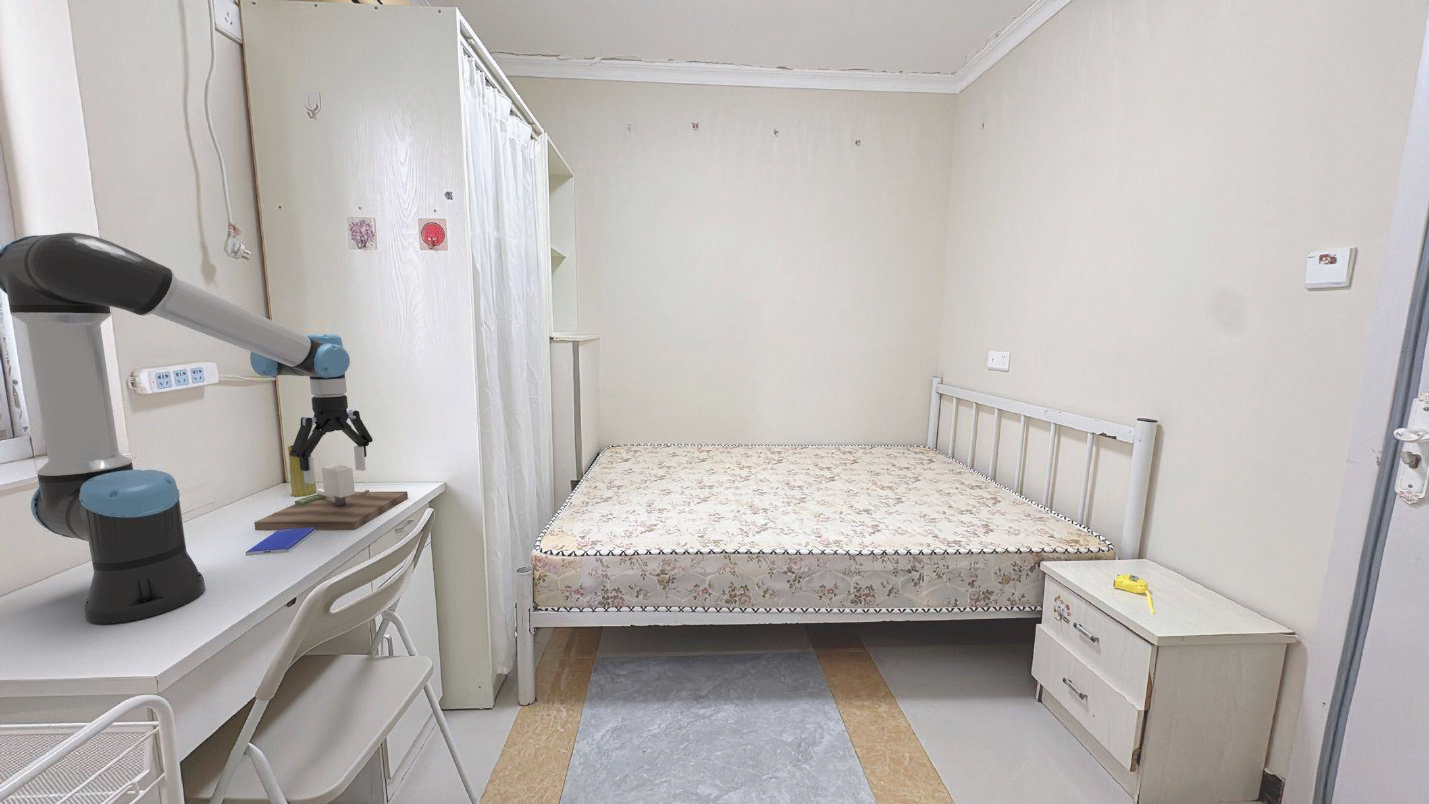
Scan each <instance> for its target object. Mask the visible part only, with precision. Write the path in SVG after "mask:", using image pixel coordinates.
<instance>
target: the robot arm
mask: <svg viewBox="0 0 1429 804" xmlns="http://www.w3.org/2000/svg"><path fill="white" fill-rule="evenodd" d="M0 290H1V291H3V292H4V294H6V295H7V296H6V297H7V301H8V307H9V312H10V315H11V316H12V317H14V318H16V320H19V321H21V322H23V323H24V324H25V325H26V329H27V330H26V331H27V336H28V344H29V347H30V348H29V349H30V354H31V361H32V367H33V372H34V379H35V385H36V391H37V396H38V404H39V411H40V415H41V416H40V417H41V421H42V428H43V434H44V439H45V446H46V451H47V458H48V461H47V462H46V463H45V464H44V465H43V466H41V468H39V469H38V470H37V474H36V475H37V481H38V487H37V489H36V490H35V491H34V493H33V496H32V497H31V501H30V510H31V514H32V516H33V518H34V520H36V522H37V523H38V524H39V525H40V526H42V527H43V528H45V529H47V530H48V531H49V532H52V533H53V534H56V535H59V536H61V537H66V538H72V539H76V540H77V539H78V540H81V541H84V542H88V545H89V551H90V557H91V562H92V568H93V576H92V579H91V582H90V583H91V584H90V588H89V589H90V590H89V593H88V594H89V595H88V598H87V599H86V601H85V604H84V613H85V614H84V615H85V618H86V619H85V620H87V621H88V622H89V623H92V624H95V625H96V624H99V625H110V624H111V625H112V624H120V623H128V622H132V621H137V620H141V619H145V618H150V617H154V616H157V615H160V614H163V613H166V612H169V611H172V610H174V609H177V608H179V607H181V606H182V607H183V605H187V604H188V603H191V602H192V601H194V600H195V599H196V598H198V597H200V596H201V595H202V594H203V593H204V592H205V590H206V586H205V579H204V576H203V574H202V573H201V571H198V570H199V569H198V568H197V566H196V563H194V561H193V559H192V557H191V556H190V555H189V553H188V550H187V546H186V545H187V544H186V540H185V531H184V530H185V529H184V523H183V517H182V509H181V508H182V507H181V502H180V495H181V494H180V489H179V488H178V486H177V481H176V480H175V477H174V476H173V475H171V474H169V473H167V472H165V471H162V470H156V469H144V470H142V469H134V465H133V461H132V459H131V458H129V457H127V456H126V455H123V454H122V453H120V451H119V445H118V437H117V431H116V424H115V423H116V422H115V418H114V416H115V415H114V410H113V405H112V397H111V390H110V384H109V383H110V382H109V377H108V371H107V370H108V369H107V363H106V355H105V349H104V347H105V346H104V341H103V335H102V329H101V328H102V327H101V324H103V323H104V322H105V321H106V320H107V319H108V318H110V317H111V316H112V312H111V308H117V309H120V310H124V311H127V312H130V313H132V314H135V315H138V316H141V317H144V316H149V315H155V316H157V317H160V318H162V319H165V320H168V321H170V322H171V323H176V324H177V325H180V326H184V327H186V328H189V329H191V330H194V331H196V332H198V333H201V334H204V335H206V336H209V337H212V338H214V339H218V340H219V341H223V342H225V343H227V344H230V345H233V346H236V347H238V348H241V349H243V350H245V351H249V352H250V355H249V358H250V359H249V360H250V366H251V368H252V369H253V371H254V373H256V374H257V375H259V376H262V377H278V376H291V377H292V376H295V377H309V383H310V384H309V385H310V393H311V395H312V398H311V406H312V408H311V409H312V411H313V413H314V414H313V417H304V416H303V417H301V418H300V424H299V425H300V426H299V428H298V429H299V430H298V431H297V433H296V434H297V435H296V437H295V439H294V442H293V444H292V445H293V447H292V449H291V452H290V456H292V457H298V458H299V461H300V469H301V471H304V481H305V483H310V484H314V483H315V484H316V477H315V467H314V457H312V453H313V452H314V450H315V448H316V447H317V446H318V444H319V443H320V441H321V439H322V438H323V437H324V436H325V435H326V434H327V433H332V432H334V431H335V432H336V431H342V432H343V433H344V434H345V436H347V437H348V438H349V439H350V440H351V441H352V442H353V443H354V444H355V446H353V453H354V463H355V464H354V466H355V470H356V471H361V472H363V471H366V458H367V447H368V446H369V445H370V443H372V442H373V441H374V440H373V437H372V436H371V434H370V432H369V431H368V429H367V427H366V426H365V424H364V423H363V421H362V419H361V414H360V411H359V410H351V409H350V410H348V411H347V409H348V408H349V405H348V403H349V402H348V396H347V395H346V393H347V392H348V389H347V381H346V372H347V371H348V369H349V367H350V363H351V361H350V355H349V353H348V351H347V350H346V349H345V348H344V346H343V339H342V337H341V336H340V335H338V334H329V333H328V334H319V333H318V334H317V333H316V334H315V333H314V334H307V335H305V334H302V333H300V332H298V331H295V330H294V329H291V328H289V327H287V326H284V325H282V324H280V323H278V322H276V321H274V320H271V319H269V318H267V317H265V316H262V315H260V314H257V313H256V312H254V311H252V310H248V309H247V308H244V307H242V306H239V305H238V304H235V303H234V302H231V301H229V300H226V299H224V298H223V297H220V296H219V295H216V294H213V293H211V292H209V291H207V290H204V289H202V288H201V287H197V286H196V285H193V284H191V283H188V282H186V281H184V280H182V279H180V278H177V277H176V275H175V272H174V271H173V269H171V268H169V267H167V266H165V265H163V264H160V263H159V262H156V261H154V260H152V259H149V258H147V257H146V256H143V255H141V254H138V253H137V252H134V251H133V250H130V249H128V248H126V247H124V246H121V245H119V244H116V243H115V242H112V241H109V240H108V239H107V240H106V239H103V238H101V237H98V236H95V235H92V234H91V235H90V234H85V233H79V232H63V233H55V234H41V235H37V234H33V235H28V236H23V237H20V238H16V239H14V240H12V241H9V242H7V243H6V244H4V245H3V246H0ZM348 419H349V421H350V422H351V424H350V423H349V422H348ZM314 425H315V426H314ZM351 425H353V428H352V426H351ZM313 426H314V427H313ZM310 455H311V457H309V456H310Z"/></svg>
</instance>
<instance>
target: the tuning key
mask: <svg viewBox="0 0 1429 804" xmlns="http://www.w3.org/2000/svg"><path fill="white" fill-rule="evenodd" d="M321 475H322V483H323V488H320V487H319V488H316V492H315V494H321V495H324V496H327V497H330V498H333V499H335V506H342V505H345V504H346V497H345V496H349V495H353V494H355V492H356V490H355V484H354V483H355V481H354V472H353V467H350V466H346V465H342V464H338V463H334V464H329V465H326V466H321Z"/></svg>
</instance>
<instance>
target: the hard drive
mask: <svg viewBox="0 0 1429 804" xmlns="http://www.w3.org/2000/svg"><path fill="white" fill-rule="evenodd" d="M316 531H317V530H316V529H315V528H299V529H285V530H275V532H273V533H272V534H270V535H268V536H267V537H266V538H264V539H263V540H261V541H259V542H258V543H257V544H255V545H254V546H253V547H251V548H250V549H248V550H247V551H245V556H255V555H269V554H279V553H280V554H282V553H284V554H285V553H290V552H291V551H292V550H293V549H295V548H297V546H299V545H300V544H301V543H303V542H304V541H305V540H307V539H308V538H309V537H311V536H312V535H313V534H315V532H316Z"/></svg>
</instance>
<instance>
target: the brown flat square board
mask: <svg viewBox="0 0 1429 804" xmlns="http://www.w3.org/2000/svg"><path fill="white" fill-rule="evenodd" d="M408 495H409V494H408V491H405V490H404V491H402V490H401V491H370V489H365V490H364V491H363V490H362V491H355V494H353V495H349V496H345V497H346V504H345V505H342V506H335V499H333V498H330V497H327V496H324V495H321V494H318V493H315V494H313V495H312V494H311V495H310V496H309V495H308V496H304V497H302V498H300V499H297V500H295V501H294V504H292V505H290V506H287V507H285V508H283V509H280V510H278V511H276V512H273V513H271V514H270V515H267V516H265V517H263V518H260V519H258V520H255V521H254V522H253V523H254V530H255V531H278V530H285V529H299V528H315V529H316V531H328V530H329V531H330V530H331V531H334V530H335V531H339V530H341V531H342V530H343V531H346V530H347V531H350V530H352V531H353V530H354V531H356V530H357V529H358V528H361V527H362V526H363V525H365V524H367V523H369V522H370V521H371V520H373V519H375V518H377V517H379V516H381V515H382V514H384V513H386V512H387V511H390V510H391V509H392V508H394V507H396V506H397V505H399V504H401V503H403V502H404V501H406V500H407V499H409V496H408Z"/></svg>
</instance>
